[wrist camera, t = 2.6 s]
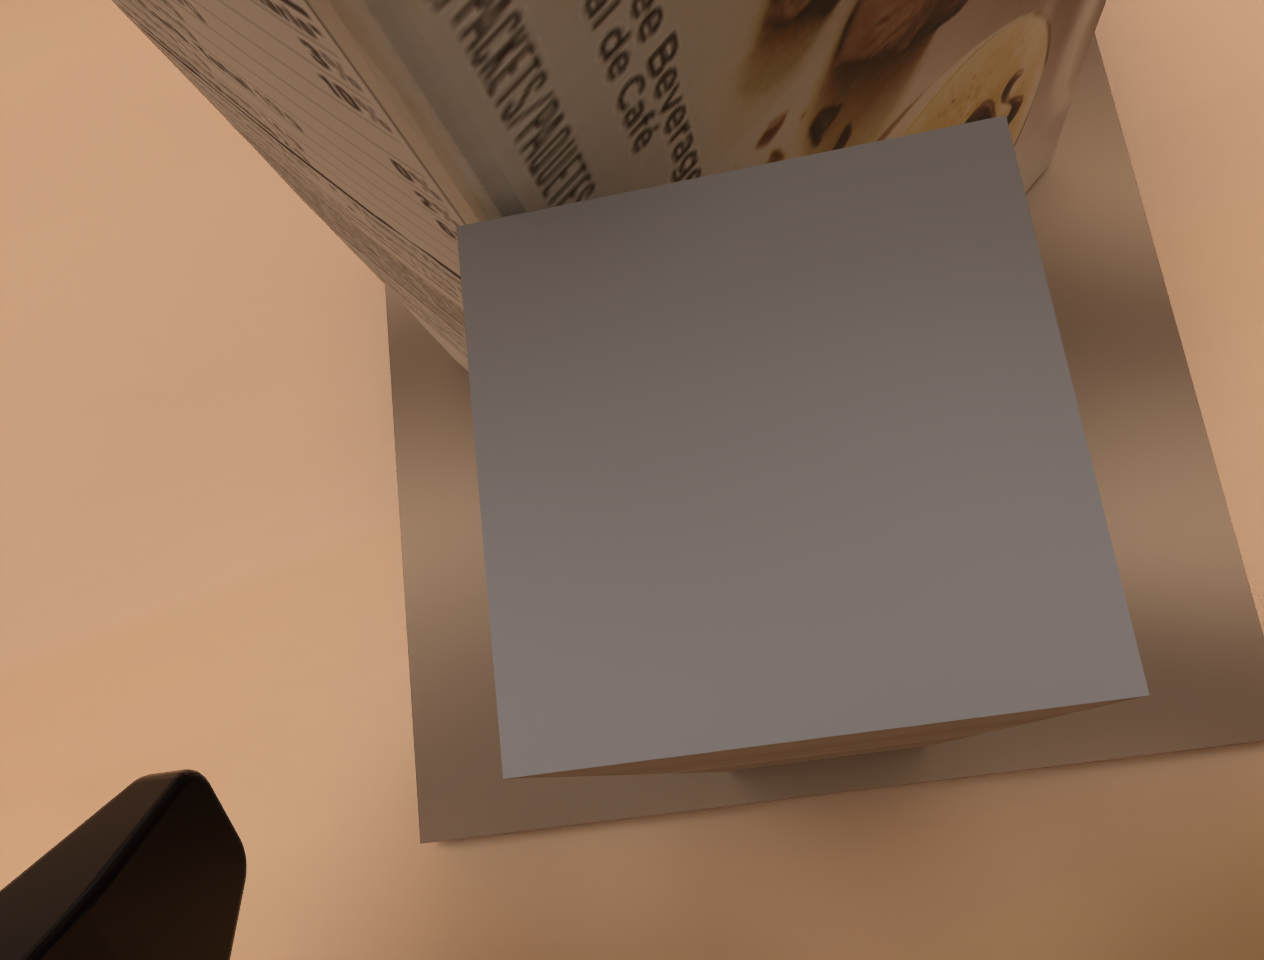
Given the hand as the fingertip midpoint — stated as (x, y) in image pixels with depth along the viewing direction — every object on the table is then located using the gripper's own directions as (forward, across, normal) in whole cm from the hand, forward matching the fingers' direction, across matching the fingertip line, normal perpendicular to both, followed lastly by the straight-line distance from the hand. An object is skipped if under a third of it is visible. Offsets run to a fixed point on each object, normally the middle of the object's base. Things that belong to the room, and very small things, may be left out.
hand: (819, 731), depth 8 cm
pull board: (+12, 0, +2) cm, 12 cm away
